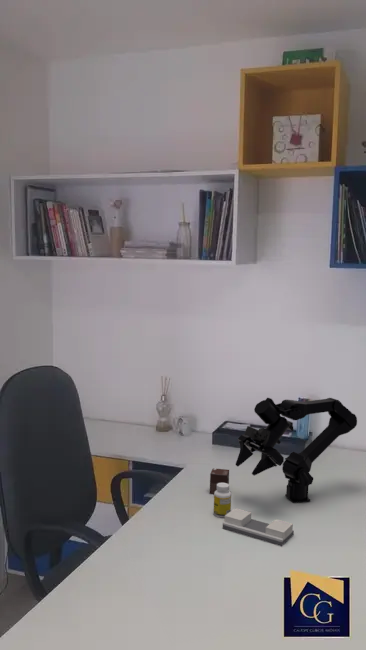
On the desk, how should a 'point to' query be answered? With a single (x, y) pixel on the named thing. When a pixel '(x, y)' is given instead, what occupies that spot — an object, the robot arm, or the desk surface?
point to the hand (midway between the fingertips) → (244, 470)
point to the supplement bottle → (222, 500)
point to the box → (218, 478)
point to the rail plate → (258, 527)
